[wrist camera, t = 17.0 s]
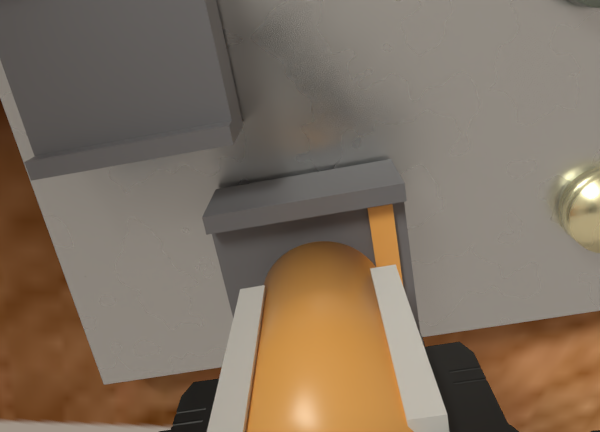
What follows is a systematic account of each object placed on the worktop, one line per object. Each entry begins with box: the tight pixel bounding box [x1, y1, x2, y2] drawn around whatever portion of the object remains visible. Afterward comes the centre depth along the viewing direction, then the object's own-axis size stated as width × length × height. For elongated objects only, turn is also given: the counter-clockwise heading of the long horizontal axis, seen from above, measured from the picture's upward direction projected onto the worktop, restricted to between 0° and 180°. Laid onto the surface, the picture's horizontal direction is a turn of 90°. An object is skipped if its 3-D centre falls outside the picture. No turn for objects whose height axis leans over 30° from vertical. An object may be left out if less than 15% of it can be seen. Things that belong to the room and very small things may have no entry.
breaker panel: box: [0, 0, 600, 385], centre depth 21 cm, size 25×17×3 cm
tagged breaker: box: [202, 159, 425, 347], centre depth 20 cm, size 6×6×3 cm
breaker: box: [0, 0, 243, 181], centre depth 17 cm, size 6×6×3 cm
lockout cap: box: [246, 241, 414, 432], centre depth 15 cm, size 4×4×8 cm
